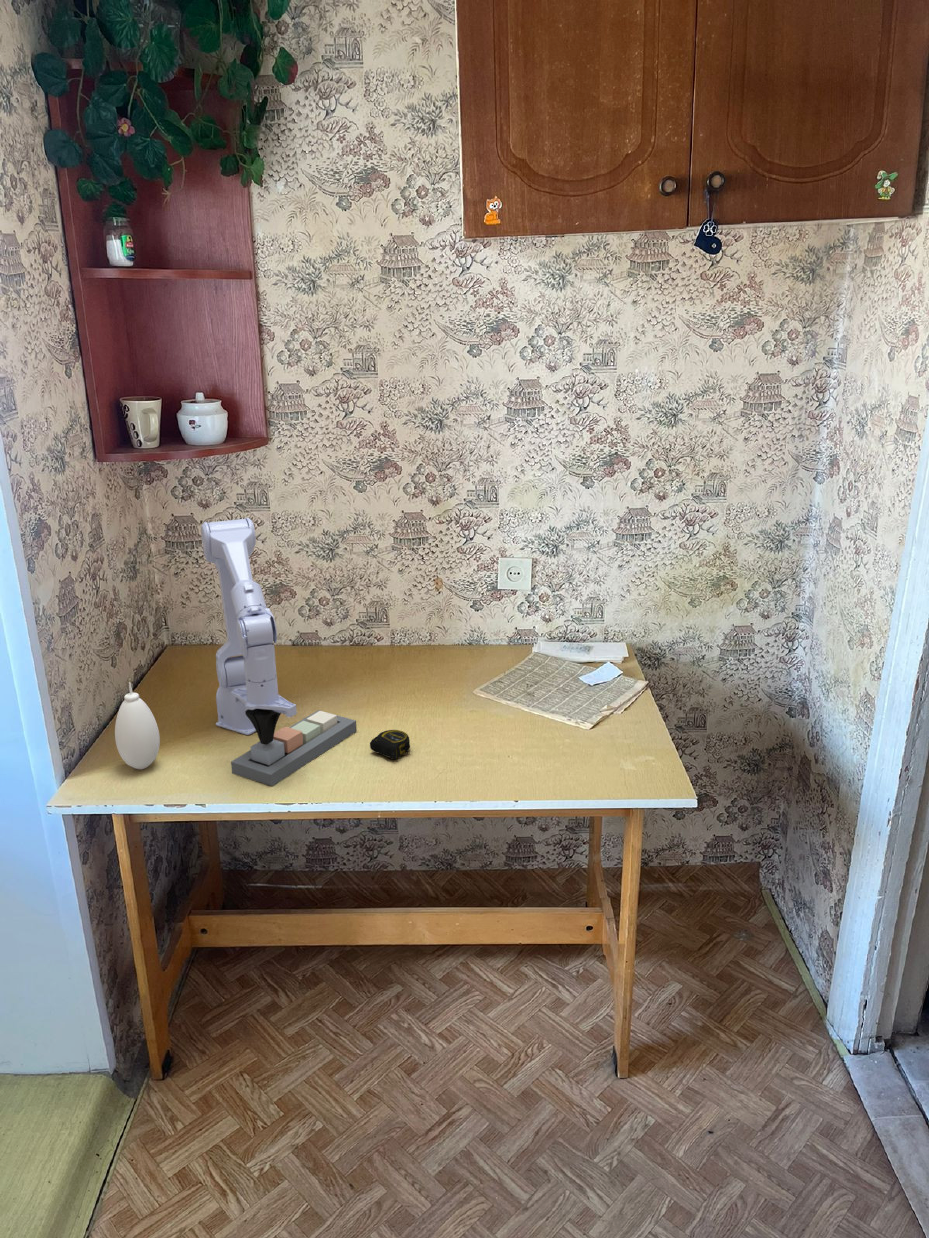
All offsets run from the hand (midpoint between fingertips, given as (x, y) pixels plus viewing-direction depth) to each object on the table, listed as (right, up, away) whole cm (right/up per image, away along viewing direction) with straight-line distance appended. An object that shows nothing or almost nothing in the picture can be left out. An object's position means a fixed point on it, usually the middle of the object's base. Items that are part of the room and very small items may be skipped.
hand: (267, 742), depth 180 cm
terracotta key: (+3, -1, +6) cm, 6 cm away
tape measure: (+23, -4, +7) cm, 25 cm away
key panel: (+4, -3, +9) cm, 10 cm away
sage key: (+6, -1, +10) cm, 12 cm away
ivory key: (+8, +1, +15) cm, 17 cm away
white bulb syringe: (-25, -5, +3) cm, 26 cm away
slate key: (0, -3, +1) cm, 3 cm away
